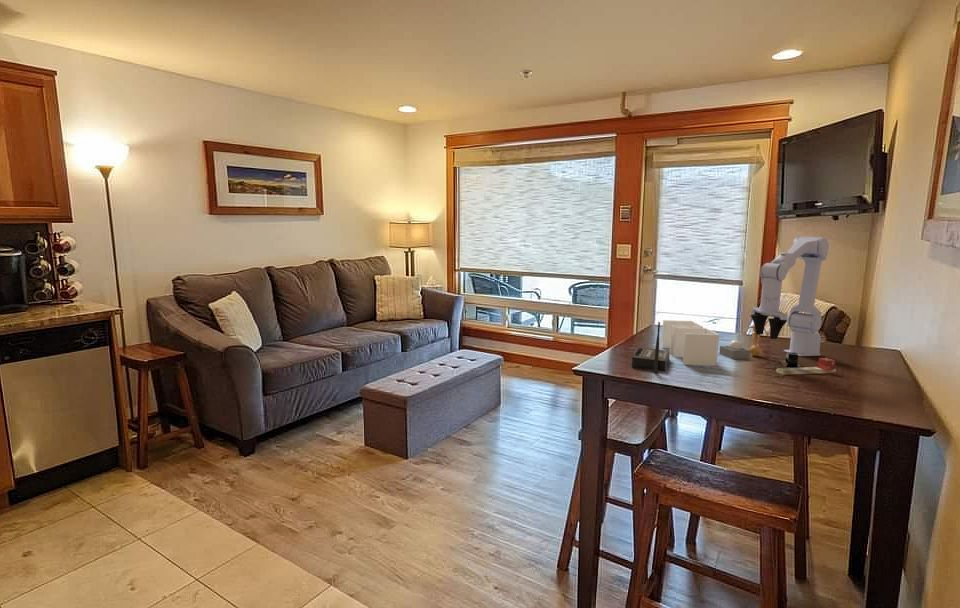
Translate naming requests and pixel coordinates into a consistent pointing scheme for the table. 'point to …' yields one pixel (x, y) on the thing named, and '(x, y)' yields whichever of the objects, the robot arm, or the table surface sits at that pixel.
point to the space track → (811, 368)
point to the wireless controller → (651, 357)
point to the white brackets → (690, 342)
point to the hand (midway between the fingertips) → (766, 336)
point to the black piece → (791, 360)
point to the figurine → (755, 348)
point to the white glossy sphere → (735, 345)
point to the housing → (734, 352)
